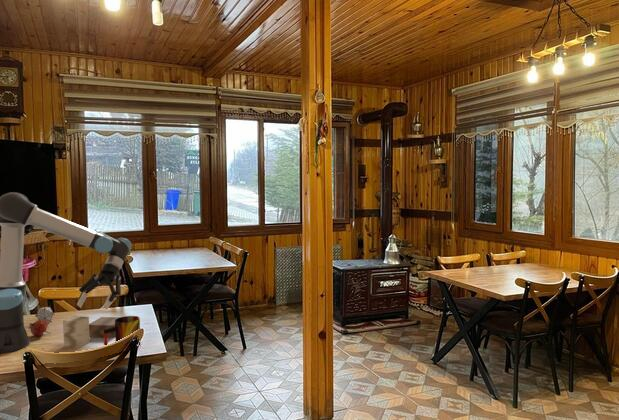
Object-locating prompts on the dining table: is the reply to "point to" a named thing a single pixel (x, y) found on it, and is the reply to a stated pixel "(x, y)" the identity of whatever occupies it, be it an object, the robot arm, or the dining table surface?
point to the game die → (45, 314)
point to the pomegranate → (39, 328)
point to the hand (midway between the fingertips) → (92, 306)
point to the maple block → (76, 331)
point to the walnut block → (102, 327)
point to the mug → (123, 327)
